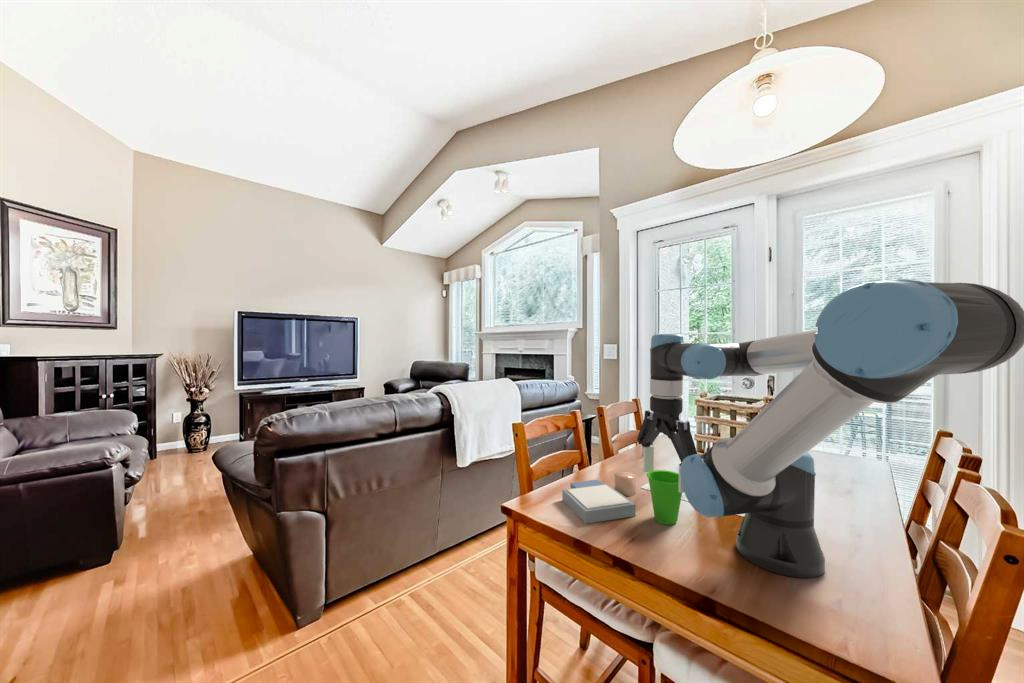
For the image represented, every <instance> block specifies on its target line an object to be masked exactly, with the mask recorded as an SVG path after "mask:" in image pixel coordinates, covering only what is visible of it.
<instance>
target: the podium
mask: <svg viewBox="0 0 1024 683" xmlns="http://www.w3.org/2000/svg"><path fill="white" fill-rule="evenodd" d="M561 492H562V493H561V494H562V502H564V503H565V504H566V506H568V507H569V509H571V511H573V513H574V514H575V515H576V516H578V517H579V519H580V520H582V522H583V523H584V524H592V523H600V522H605V521H606V522H607V521H611V520H612V521H613V520H618V519H623V518H624V519H625V518H632V517H636V503H634V502H633V501H631V499H629V498H627V496H623V495H622V494H620V493H619V492H618V491H616V490H615V488H613V487H612V486H611V485H609V484H608V483H603V485H595V486H587V487H579V488H571V487H570V488H564V489H562V490H561Z"/></svg>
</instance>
